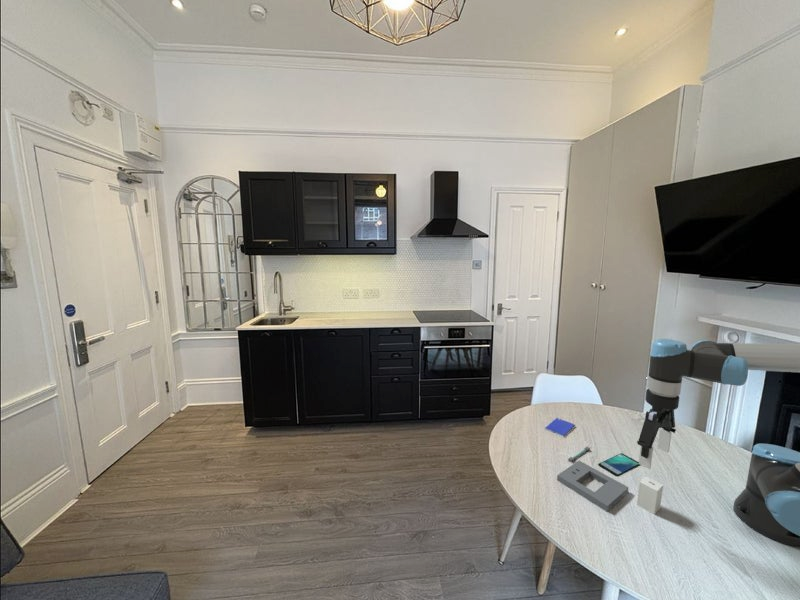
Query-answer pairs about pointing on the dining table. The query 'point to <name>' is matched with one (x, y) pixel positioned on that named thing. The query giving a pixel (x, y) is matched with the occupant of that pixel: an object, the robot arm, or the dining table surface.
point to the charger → (649, 495)
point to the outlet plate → (601, 497)
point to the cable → (578, 454)
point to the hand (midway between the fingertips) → (654, 457)
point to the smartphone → (619, 464)
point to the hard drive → (560, 427)
